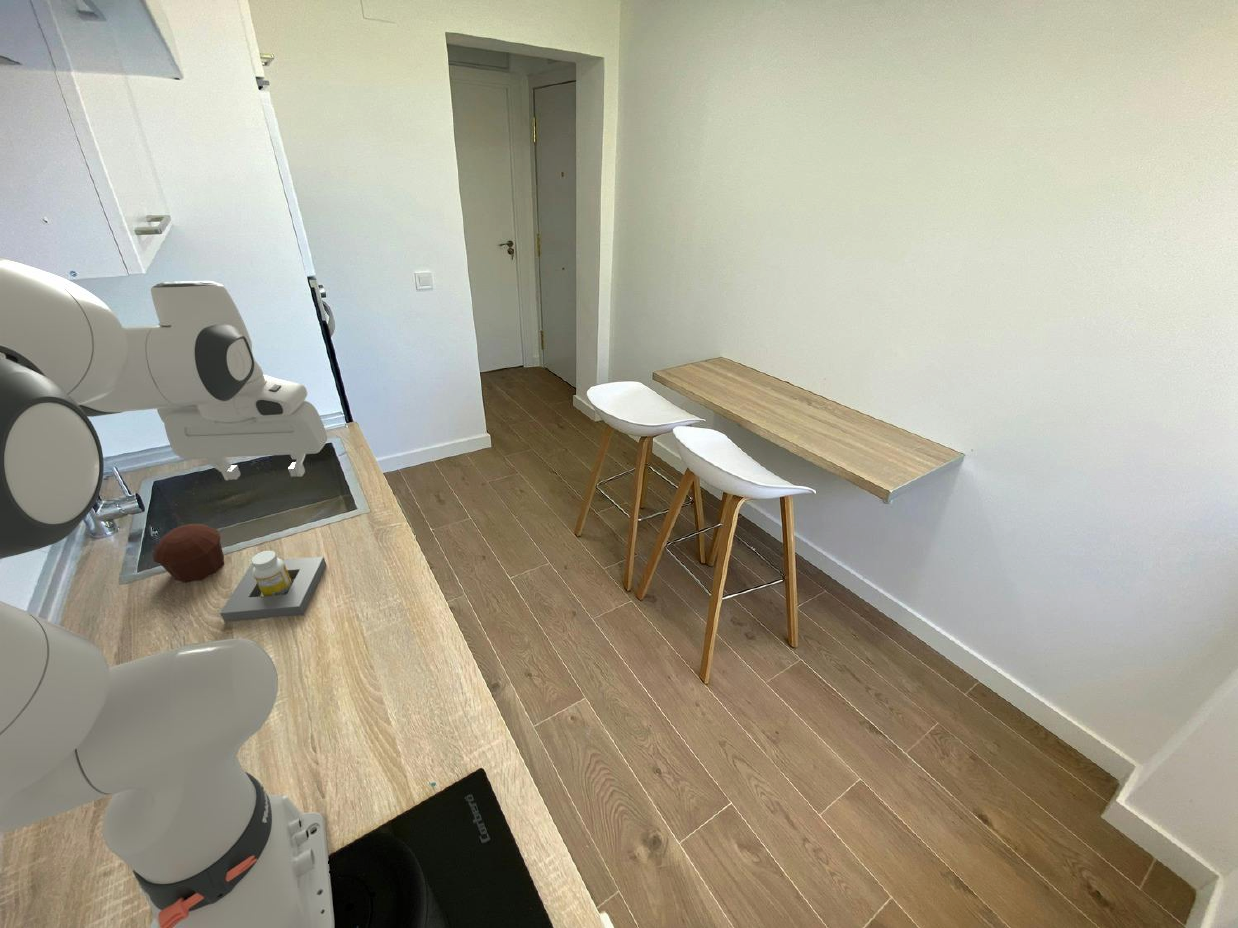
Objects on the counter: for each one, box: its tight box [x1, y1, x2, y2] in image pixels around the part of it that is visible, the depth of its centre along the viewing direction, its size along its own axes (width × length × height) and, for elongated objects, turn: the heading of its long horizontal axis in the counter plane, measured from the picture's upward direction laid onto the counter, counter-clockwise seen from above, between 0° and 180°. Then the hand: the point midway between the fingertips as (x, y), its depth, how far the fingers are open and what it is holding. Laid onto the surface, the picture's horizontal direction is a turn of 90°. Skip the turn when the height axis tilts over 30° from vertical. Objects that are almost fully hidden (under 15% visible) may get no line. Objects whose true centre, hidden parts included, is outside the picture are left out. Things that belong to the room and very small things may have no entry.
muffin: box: [152, 523, 225, 584], centre depth 106 cm, size 12×11×10 cm
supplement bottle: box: [251, 550, 293, 596], centre depth 101 cm, size 5×5×10 cm
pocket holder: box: [219, 556, 327, 623], centre depth 103 cm, size 14×14×2 cm
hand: (266, 476), depth 80 cm, fingers open, 8 cm apart
